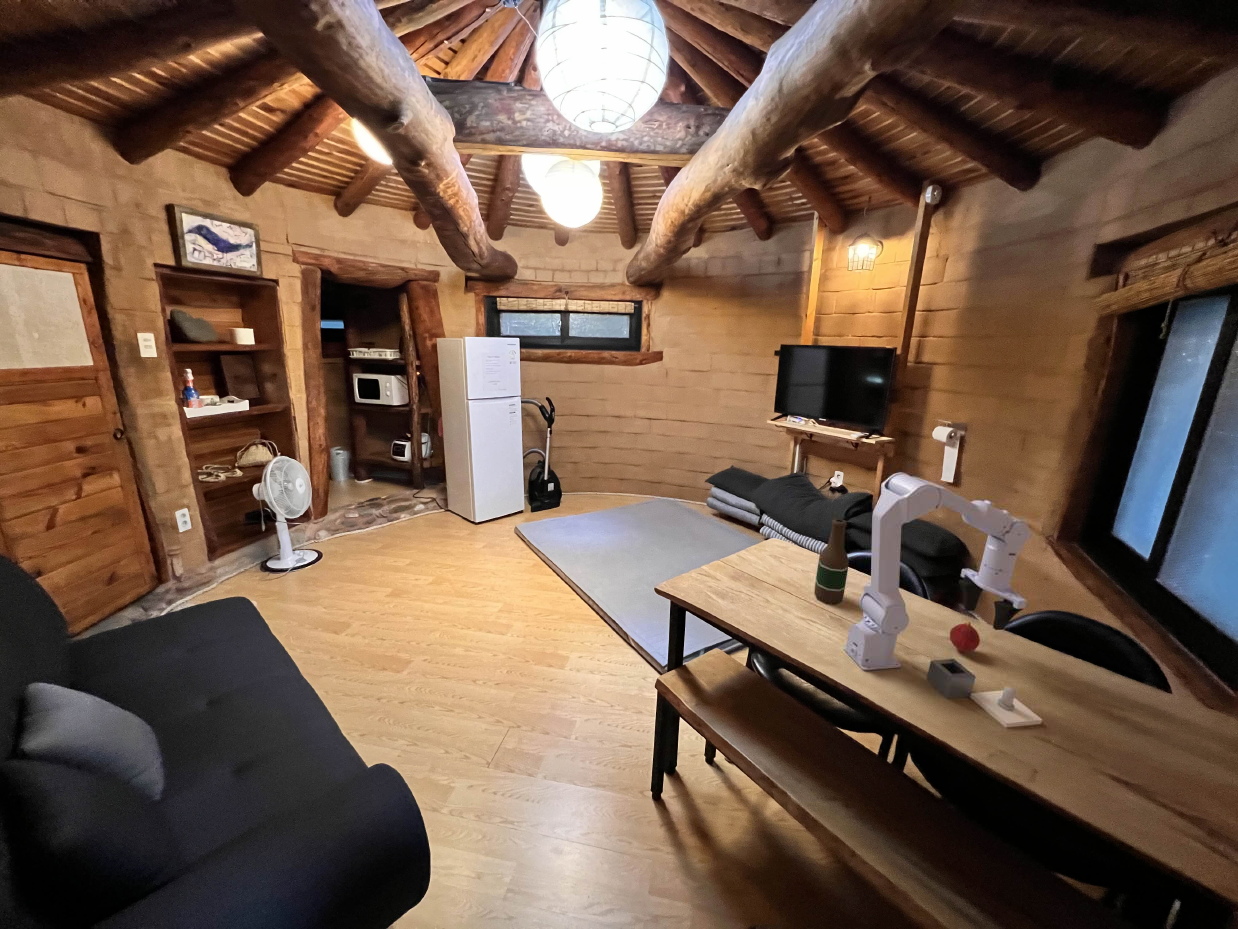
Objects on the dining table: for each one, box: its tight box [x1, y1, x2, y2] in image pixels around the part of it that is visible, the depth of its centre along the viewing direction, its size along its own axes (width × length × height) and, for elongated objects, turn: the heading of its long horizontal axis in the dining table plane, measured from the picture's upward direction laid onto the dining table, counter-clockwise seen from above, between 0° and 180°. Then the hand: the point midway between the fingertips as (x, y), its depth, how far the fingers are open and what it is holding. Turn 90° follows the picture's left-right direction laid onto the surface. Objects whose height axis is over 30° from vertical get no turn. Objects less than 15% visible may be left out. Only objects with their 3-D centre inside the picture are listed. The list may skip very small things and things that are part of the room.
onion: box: [949, 620, 981, 653], centre depth 113 cm, size 6×6×8 cm
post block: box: [970, 685, 1043, 729], centre depth 95 cm, size 8×8×5 cm
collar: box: [926, 658, 976, 699], centre depth 101 cm, size 6×6×5 cm
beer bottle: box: [813, 518, 850, 606], centre depth 133 cm, size 8×8×24 cm
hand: (983, 619), depth 110 cm, fingers open, 7 cm apart
